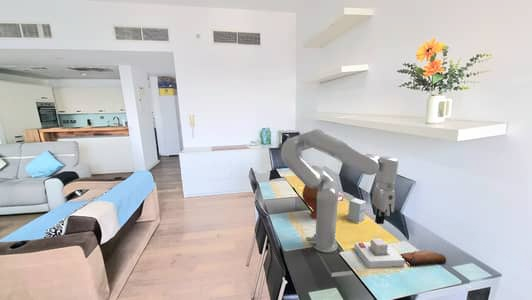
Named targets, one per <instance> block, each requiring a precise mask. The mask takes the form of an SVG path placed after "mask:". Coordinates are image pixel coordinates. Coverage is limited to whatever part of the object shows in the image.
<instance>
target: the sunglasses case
mask: <svg viewBox="0 0 532 300" xmlns="http://www.w3.org/2000/svg"><path fill="white" fill-rule="evenodd" d="M399 254H400V255H401V256H402V258H403V259H404V260H405V261H406V262H408V263H409V264H410V265H409V264H408V265H409V267H410V266H411V267H413V266H414V265H415V266H420V265H426V264H427V265H428V264H429V263H430V264H439V263H446V262H447V258H446V256H445V255H444V254H442V253H438V252H433V251H424V250H423V251H422V250H415V251H413V252H412V251H411V252H405V253H399ZM406 262H405V263H406Z"/></svg>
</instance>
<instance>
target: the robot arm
mask: <svg viewBox="0 0 532 300" xmlns="http://www.w3.org/2000/svg"><path fill="white" fill-rule="evenodd" d="M308 149H314V150H316V151H319V152H321V153H323V154H325V155H327V156H329V157H332V158H334V159H335V160H337V161H338V162H340V163H342V164H343V165H346V166H348V167H349V168H350V169H353V170H355V171H357V172H359V173H361V174H364V175H367V176H373V175H375V174H376V177H375V185H374V190H373V194H372V199H371V203H372V205H373V207H374V208H375V219H374V222H375V224H377V225H384V224H385V217H390V214H391V213H394V211H395V205H396V191H395V187H396V180H397V173H398V168H399V167H398V166H399V159H397V158H395V157H391V156H379V155H376V154H375V155H374V154H370V153H367V154H364V153H362V152H359V151H358V150H355V149H354V148H352V147H351V146H350V145H349V144H347V143H346V142H344V141H343V140H340V139H338V138H336V137H333V136H332V135H330V134H328V133H325V131H323V130H322V129H318V128H316V129H313V130H309V131H307V132H304V133H301V134H298V135H295V136H292V137H289V138H288V139H286V140H285V141H284V142H283V144H282V146H281V149H280V156H281V160H282V162H283V164H284V165H285V166H287V167H286V168H288V169H289V170H290V171H291V172H292V173H293V174H294V175H295V176H296V177H297V178H298V179H299V180H300V181H301V182H302V183H303V184H304V186H305V185H306V186H307V187H309V188H317V189H318V193H317V217H316V219H315V233H314V234H313V236H307V237H305V241H306V242H309V244H311V245H312V247H313V248H314V249H315V250H317V251H319V252H321V253H324V254H325V253H326V254H327V253H328V254H329V253H334V252H336V251H337V250H338V246H339V245H338V243H337V241H336V231H337V229H336V227H337V215H338V201H339V191H340V189H339V186H338V184H337V182H336V181H335V180H334V179H333V178H332V177H330V175H329V174H328V173H327V172H325V170H324V169H323V168H321V167H320V166H318V165H311V164H309V162H307V160H306V159H304V158H303V157H302V156H300V153H301V152H302V151H305V150H308Z"/></svg>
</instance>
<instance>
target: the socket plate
mask: <svg viewBox="0 0 532 300" xmlns="http://www.w3.org/2000/svg"><path fill="white" fill-rule="evenodd" d="M353 245H354V246H353V248H354V250H355V252H356V253H357V254H358V255H359V257H360V258H361V259H362V261H363V262H364V263H365V264H366V266H367V267H368V268H369V269H370V268H393V267H392V266H398V267H405V263H406V262H405V260H404V259H403V258H402V257H401V256H400V255H399V254H400V253H398V252H397V251H396V250H395V249H394V248H393V247H392V246H391V245H390V244H388V247H387V256H375V255H374V254H373V253H372V252H371V251H370V246H371V241H370V242H367V241H365V242H364V241H363V242H360V241H359V242H354V244H353Z"/></svg>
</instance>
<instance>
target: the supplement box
mask: <svg viewBox="0 0 532 300" xmlns="http://www.w3.org/2000/svg"><path fill="white" fill-rule="evenodd" d="M366 204H367V201H366V200H363V199H360V198H356V197H355V198H353V199H351V200H349V202H348V215H347V220H349V219H350V220H349V221H351V220H352V222H353V221H355V222H354V223H356V222H357V223H356V224H360V223H361V222H363V221H365V214H366V206H367V205H366ZM362 220H363V221H362ZM359 222H360V223H359Z"/></svg>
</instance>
